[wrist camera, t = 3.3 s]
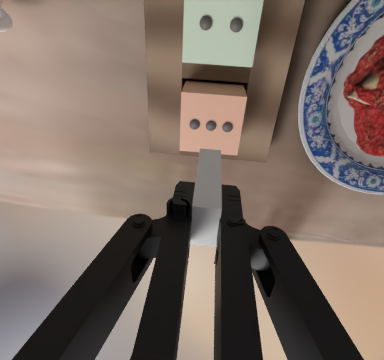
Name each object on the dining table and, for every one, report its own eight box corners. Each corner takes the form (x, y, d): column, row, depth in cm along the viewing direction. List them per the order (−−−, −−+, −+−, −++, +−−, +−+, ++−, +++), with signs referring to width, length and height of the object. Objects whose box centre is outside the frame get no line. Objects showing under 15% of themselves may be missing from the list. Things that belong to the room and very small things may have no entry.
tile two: (190, -21, 23) (184, -27, 19) (259, -17, 23) (267, -22, 19) (187, 54, 26) (181, 62, 22) (247, 59, 26) (252, 67, 22)
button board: (145, -214, 19) (134, -248, 16) (343, -208, 18) (363, -242, 16) (154, 141, 34) (150, 152, 32) (262, 150, 34) (265, 162, 31)
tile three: (186, 80, 28) (181, 92, 24) (243, 85, 27) (247, 97, 24) (184, 133, 31) (179, 151, 27) (235, 137, 31) (237, 156, 27)
